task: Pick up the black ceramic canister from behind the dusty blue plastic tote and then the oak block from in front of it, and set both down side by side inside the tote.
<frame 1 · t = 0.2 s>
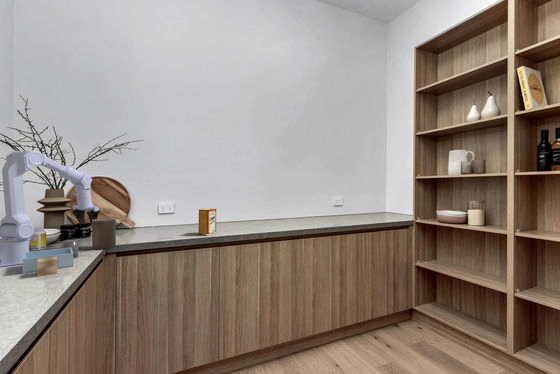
hand: (87, 224, 135), 11 cm above the counter, tool pointing down, fingers open, 7 cm apart
tote: (48, 266, 101), on the counter
supplement bottle: (38, 249, 126), on the counter
oak block: (47, 273, 93), on the counter
baking soda box: (207, 234, 169), on the counter
pillar candle: (104, 247, 131), on the counter
black canister: (70, 257, 113), on the counter
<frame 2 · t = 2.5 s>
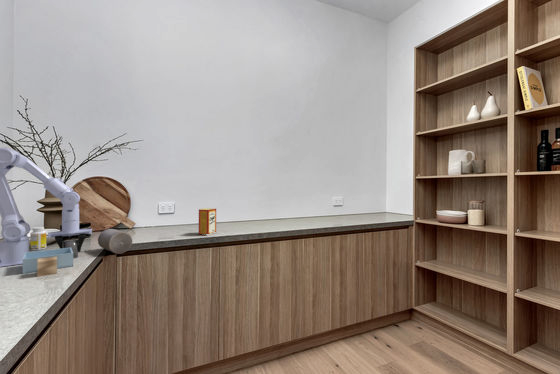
hand: (70, 252, 113), 2 cm above the counter, tool pointing down, fingers closed on black canister, 5 cm apart
pillar candle: (109, 238, 129), point 5 cm above the counter
black canister: (70, 257, 113), on the counter, touching gripper
everything else where it was.
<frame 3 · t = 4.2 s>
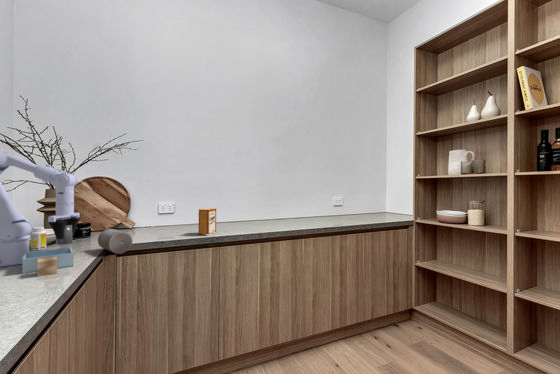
hand: (64, 237, 108), 9 cm above the counter, tool pointing down, fingers closed on black canister, 5 cm apart
black canister: (64, 243, 108), point 7 cm above the counter, touching gripper
everything else where it was.
when the fingers open (4 cm above the counter, at t = 6.1 s): black canister stays where it is, resting on tote.
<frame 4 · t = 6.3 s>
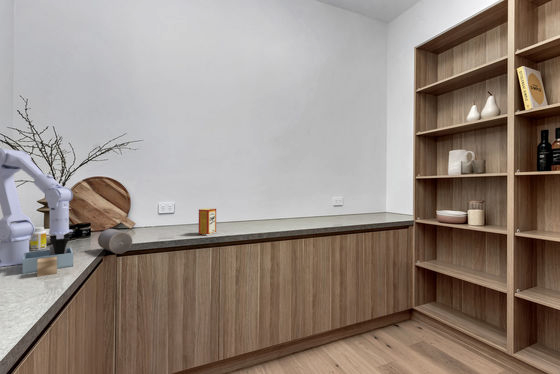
hand: (59, 254, 103), 4 cm above the counter, tool pointing down, fingers open, 6 cm apart
black canister: (58, 263, 103), point 1 cm above the counter, touching tote
everything else where it was.
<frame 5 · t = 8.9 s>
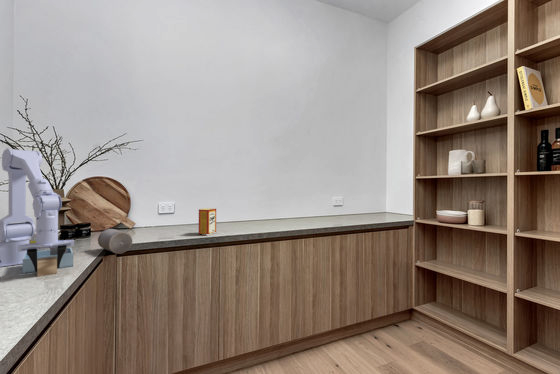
hand: (47, 269, 93), 1 cm above the counter, tool pointing down, fingers closed on oak block, 5 cm apart
oak block: (47, 273, 93), on the counter, touching gripper
everything else where it was.
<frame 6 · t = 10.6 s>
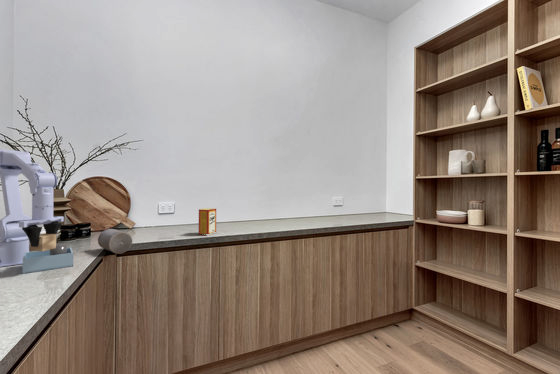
hand: (42, 244, 96), 9 cm above the counter, tool pointing down, fingers closed on oak block, 5 cm apart
oak block: (43, 249, 96), point 8 cm above the counter, touching gripper
everything else where it was.
when the fingers open (3 cm above the counter, at t = 12.6 s): oak block stays where it is, resting on tote.
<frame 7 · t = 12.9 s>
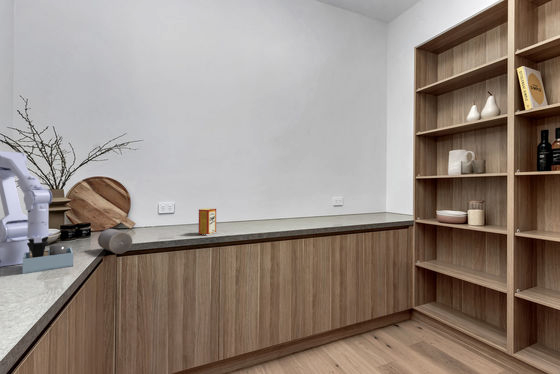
hand: (38, 259, 99), 3 cm above the counter, tool pointing down, fingers open, 7 cm apart
oak block: (39, 266, 99), resting on tote
everything else where it was.
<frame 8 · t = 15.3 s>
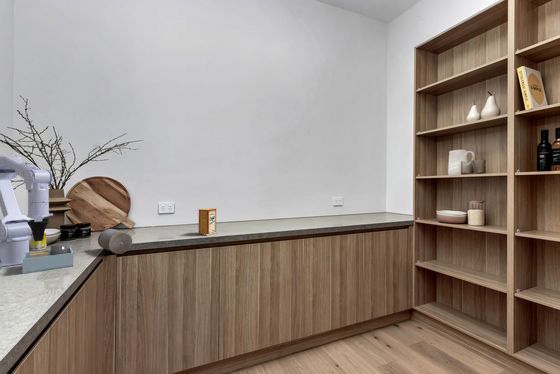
hand: (38, 239, 99), 10 cm above the counter, tool pointing down, fingers open, 7 cm apart
nothing on the counter moved.
at the end: black canister inside the target area on the tote (2.7 cm from its centre), point 0.6 cm above the tote's base; oak block inside the target area on the tote (2.7 cm from its centre), point 0.5 cm above the tote's base; black canister tilted 2° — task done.
